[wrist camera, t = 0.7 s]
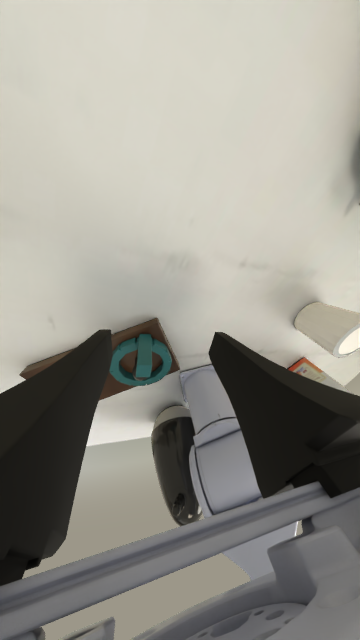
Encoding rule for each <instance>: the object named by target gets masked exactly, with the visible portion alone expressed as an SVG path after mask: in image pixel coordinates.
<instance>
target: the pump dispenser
mask: <svg viewBox="0 0 360 640" xmlns="http://www.w3.org/2000/svg"><path fill="white" fill-rule="evenodd" d="M195 435H196V434H195V430H194V426H193V422H192V418H191V414H190V410H189V409H188V408H186V407H183V406H172V407H169V408H167V409H165V410H164V411H162V412H161V413H160V414H159V416H158V417H157V419H156V421H155V424H154V428H153V431H152V434H151V440H152V450H153V457H154V462H155V468H156V472H157V476H158V480H159V484H160V488H161V492H162V495H163V498H164V501H165V503H166V506H167V508H168V511H169V513H170V515H171V517H172V518H173V520H174V521H175V522H176V524H177V525H179V526H180V527H181V526H184V525H187V524H190V523H193V522H196V521H199V519H200V517H201V515H202V513H203V512H202V509H201V507H200V505H199V503H198V500H197V497H196V494H195V491H194V487H193V483H192V478H191V472H190V465H189V454H190V451H191V447H192V445H195V443H194V439H193V436H195Z"/></svg>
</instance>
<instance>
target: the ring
mask: <svg viewBox="0 0 360 640" xmlns="http://www.w3.org/2000/svg"><path fill="white" fill-rule="evenodd" d="M135 350H138V355H137V366H136V377H148V378H146V379H145V380H142V381H139V380H136V379H135V378H134V377H133V374H132V373H130V372H127V371H125V370H124V368H123V367H122V366H121V365H120V360H121V359H122V358H123V357H124V355H125V354H127V353H130V352H132V351H135ZM152 351H153V352H155V353H157V354H159V355H160V356H161V358H162V364H161V365H160V366H159V367H158V368H157V369H156V370H155V371H153V372H151V369H152ZM171 363H172V359H171V354H170V352H169V350H168V348H167V346H165V344H163V343H161V342H160V341H158V340H156V339H152V338H151V334H140V335H139V337H137V339H136V338H132V339H130V340H127V341H124V342H122V343H121V344H119V345H118V346H117V347H116V349H115V350H114V351H113V357H112V362H111V366H110V370H109V371H110V373H111V374H112V375H113V377H114V378H115V379H116V380H117V381H118V380H119V382H121V383H124V384H127V385H130V386H131V385H132V384H133V386H145V385H146V384H147V385H149V384H152V383H154V382H157V381H159V379H160V380H161V379H162V378H163V377H164V376H165V375H166V374H167V373H168V371H170V367H171Z"/></svg>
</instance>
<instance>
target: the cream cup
mask: <svg viewBox="0 0 360 640" xmlns="http://www.w3.org/2000/svg"><path fill="white" fill-rule="evenodd" d="M294 326H295V328H296V329H298V330H299V331H300V332H302V333H303V334H305V335H306V336H307V337H309V338H310V339H311V340H313V341H314V342H315V343H317V344H318V345H320V346H321V347H322V348H324V349H325V350H326V351H328V352H329V353H331V354H332V355H333V356H335V357H338V358H341V357H346V356H348V355H351V354H353V353H355V352H357V351H358V350H360V313H357V312H353V311H349V310H346V309H342V308H338V307H334V306H331V305H327V304H323V303H320V302H315V303H312V304H309V305H307V306H306V307H305V308H303V309H302V310H301V311H300V312H299V314H298V315H297V317H296V319H295V322H294Z"/></svg>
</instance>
